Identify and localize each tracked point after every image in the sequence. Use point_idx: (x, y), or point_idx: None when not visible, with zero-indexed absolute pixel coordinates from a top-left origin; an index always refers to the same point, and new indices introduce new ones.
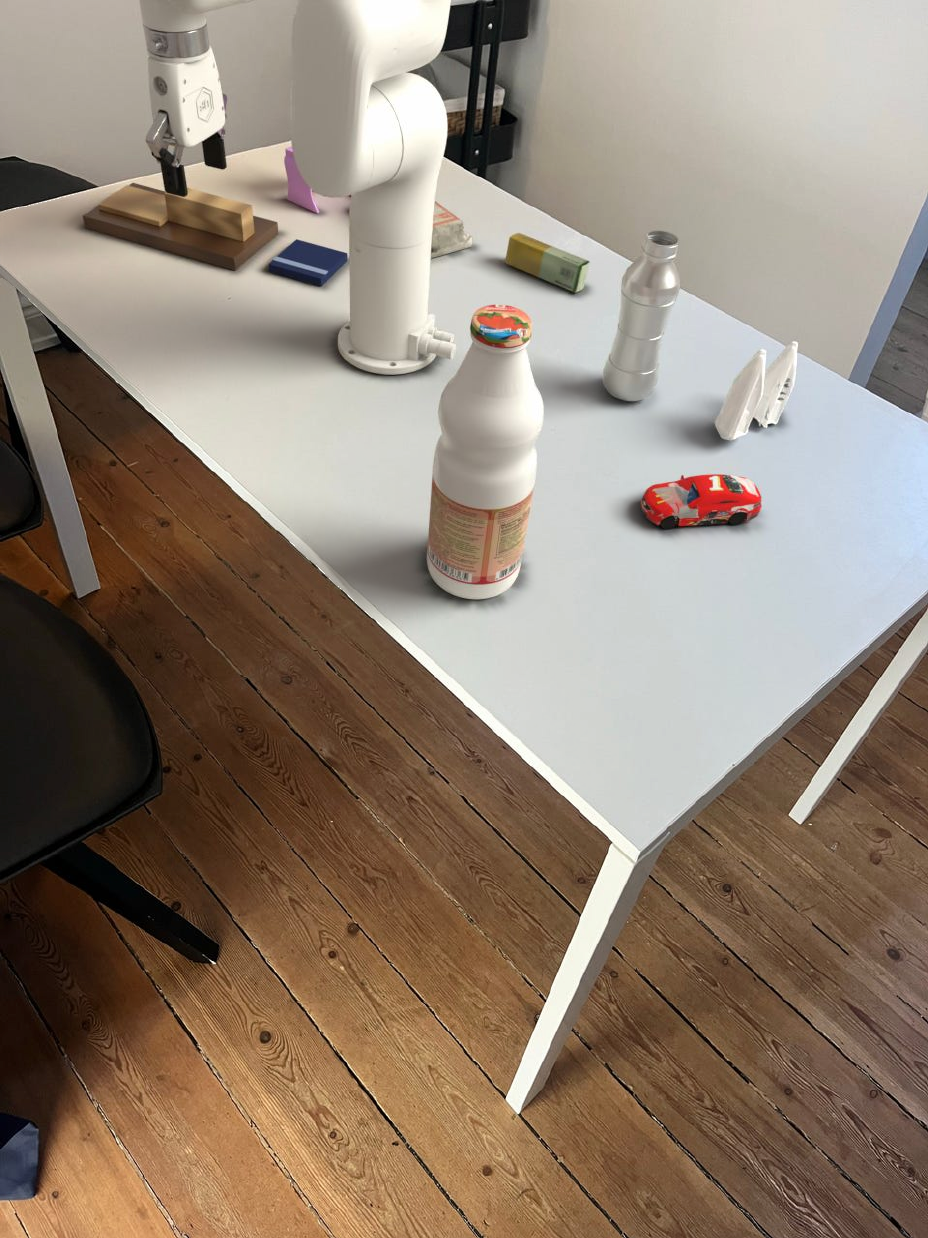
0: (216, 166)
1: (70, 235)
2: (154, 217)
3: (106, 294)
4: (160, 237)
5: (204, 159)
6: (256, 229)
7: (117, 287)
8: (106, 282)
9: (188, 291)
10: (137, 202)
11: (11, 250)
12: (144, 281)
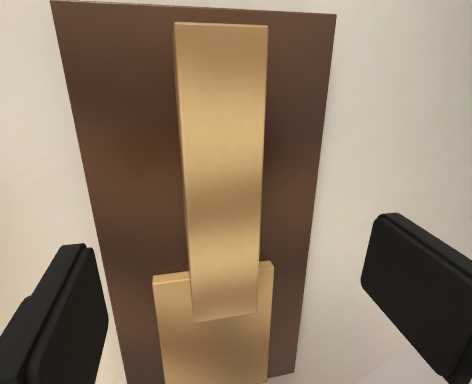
0: (98, 278)
1: (315, 349)
2: (263, 284)
3: (462, 198)
4: (310, 231)
5: (104, 340)
6: (147, 44)
7: (439, 198)
8: (428, 221)
9: (428, 75)
10: (222, 346)
11: (379, 365)
12: (412, 173)
